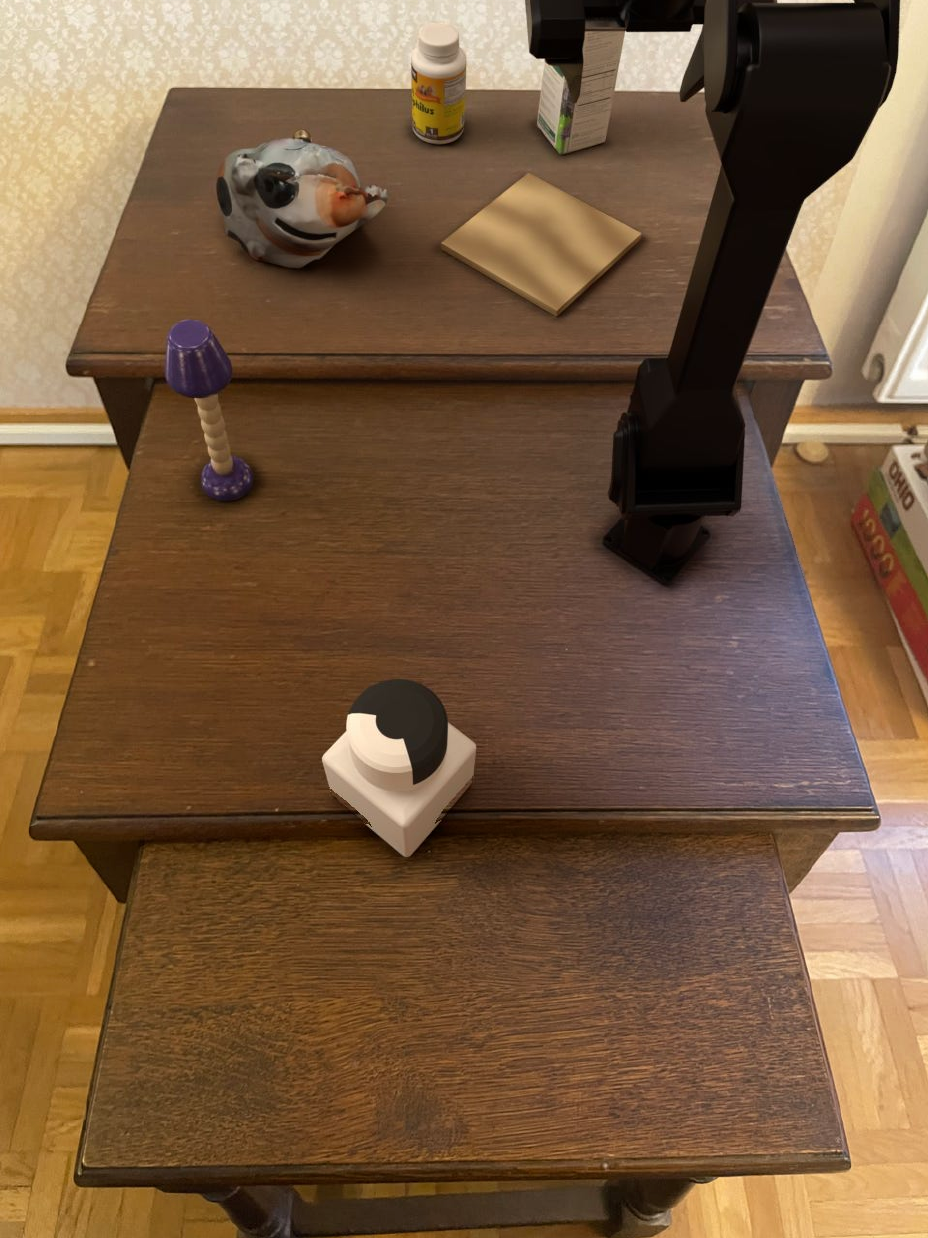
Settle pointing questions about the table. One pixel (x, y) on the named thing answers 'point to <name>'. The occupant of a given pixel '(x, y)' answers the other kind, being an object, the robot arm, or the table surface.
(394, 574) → the table surface
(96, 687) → the table surface
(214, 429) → the toy lamp
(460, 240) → the mat
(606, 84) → the syrup box
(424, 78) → the supplement bottle
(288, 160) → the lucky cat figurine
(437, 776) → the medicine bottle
